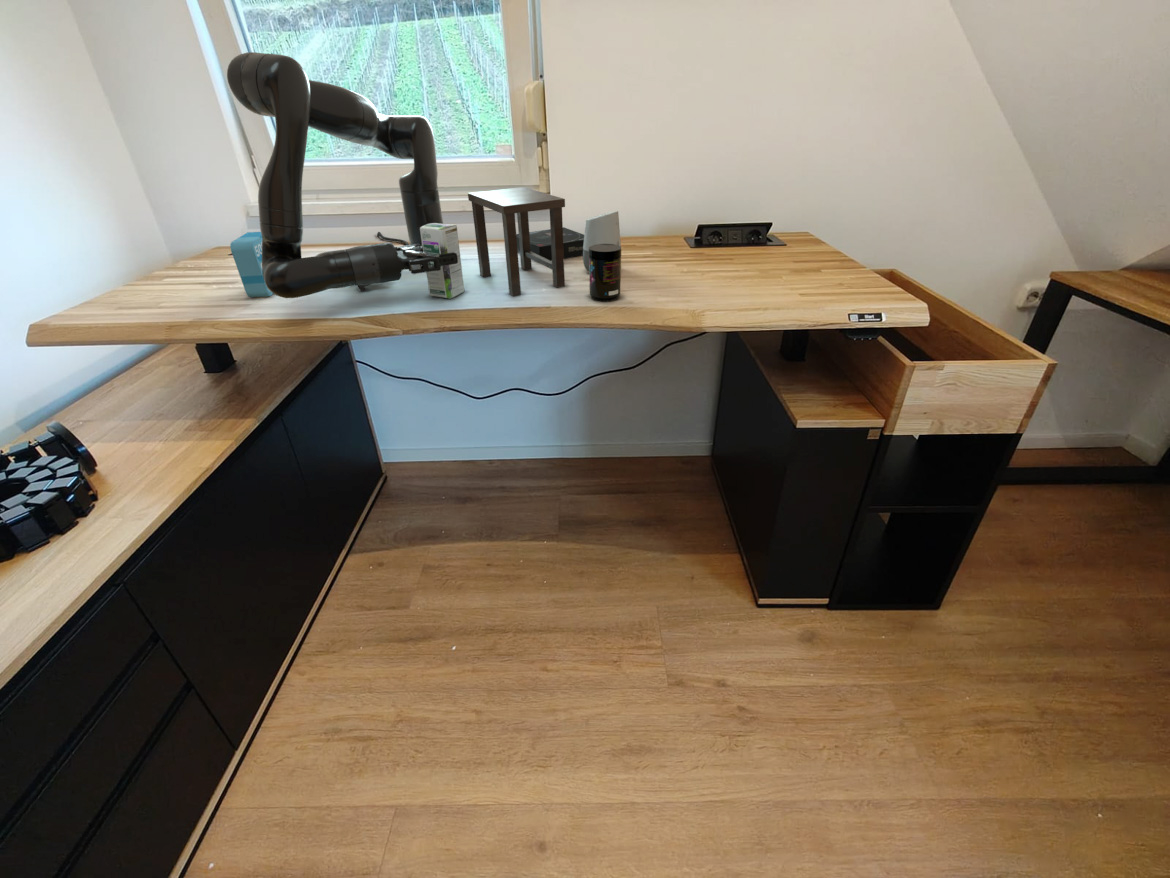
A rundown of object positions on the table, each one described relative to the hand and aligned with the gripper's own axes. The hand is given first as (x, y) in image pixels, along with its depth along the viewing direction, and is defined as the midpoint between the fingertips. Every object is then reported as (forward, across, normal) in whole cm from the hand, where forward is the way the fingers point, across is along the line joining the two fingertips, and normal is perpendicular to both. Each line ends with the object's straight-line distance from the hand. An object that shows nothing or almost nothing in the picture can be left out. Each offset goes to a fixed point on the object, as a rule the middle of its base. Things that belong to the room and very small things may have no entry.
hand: (450, 253), depth 119 cm
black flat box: (+35, +20, +8) cm, 41 cm away
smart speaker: (+36, -4, +8) cm, 37 cm away
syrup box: (-2, 0, +9) cm, 9 cm away
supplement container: (+26, -21, +8) cm, 35 cm away
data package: (-36, +26, +9) cm, 45 cm away
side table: (+16, 0, +8) cm, 18 cm away
